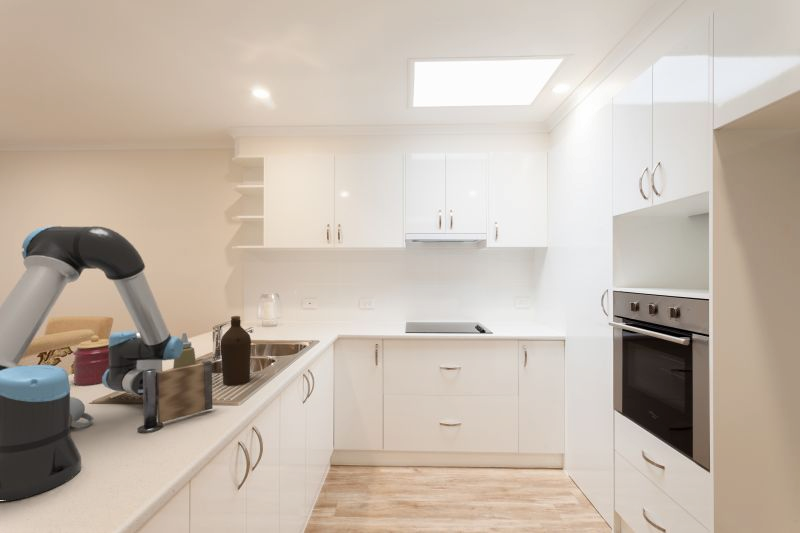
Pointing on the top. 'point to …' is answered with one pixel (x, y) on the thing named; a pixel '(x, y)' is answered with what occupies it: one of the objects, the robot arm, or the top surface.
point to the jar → (149, 363)
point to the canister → (91, 361)
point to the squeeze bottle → (185, 354)
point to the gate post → (150, 403)
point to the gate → (184, 391)
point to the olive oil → (236, 354)
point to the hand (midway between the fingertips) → (195, 391)
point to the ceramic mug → (78, 414)
